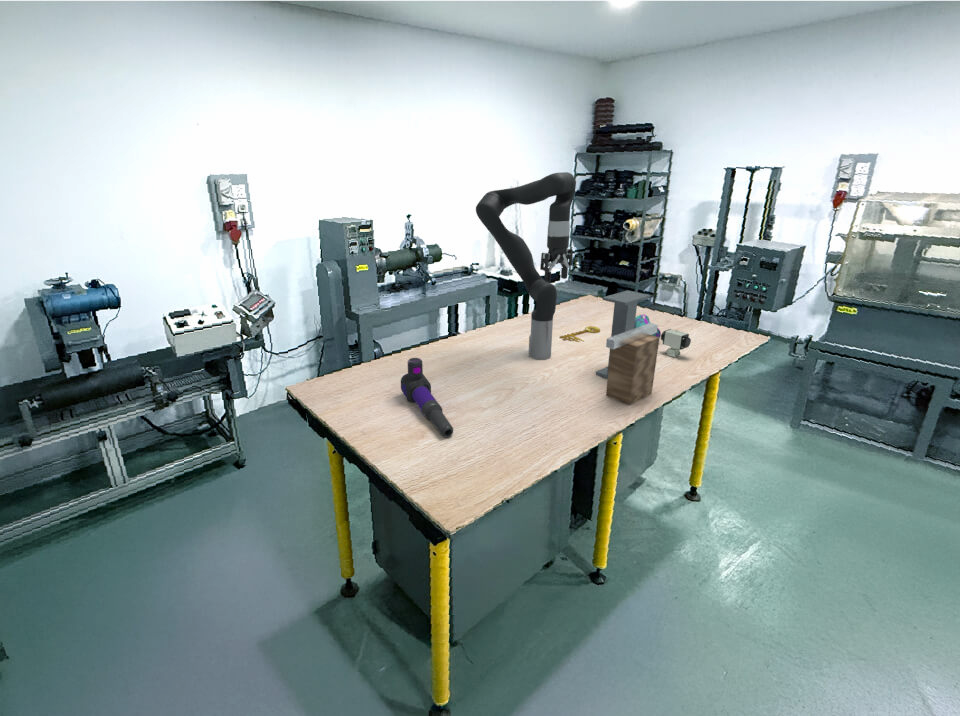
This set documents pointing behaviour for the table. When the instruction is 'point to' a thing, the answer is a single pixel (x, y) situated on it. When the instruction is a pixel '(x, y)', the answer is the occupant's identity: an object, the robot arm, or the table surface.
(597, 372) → the steel stand
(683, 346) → the mini surveillance camera
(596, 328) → the key
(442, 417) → the device
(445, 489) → the table surface
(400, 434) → the table surface
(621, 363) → the block
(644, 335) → the aluminium bar
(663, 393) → the table surface
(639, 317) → the pencil case
